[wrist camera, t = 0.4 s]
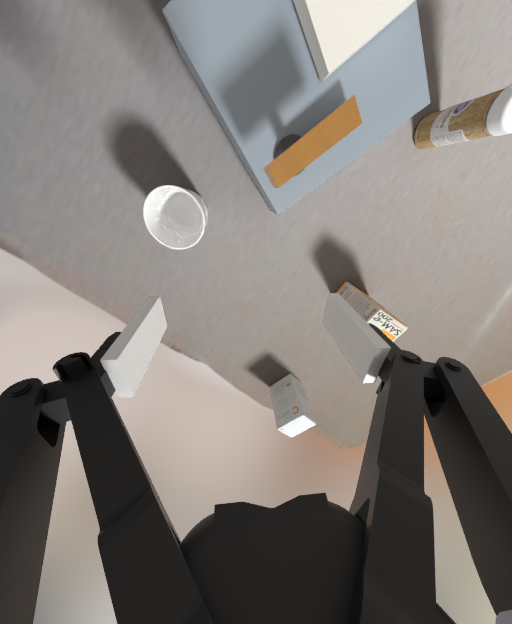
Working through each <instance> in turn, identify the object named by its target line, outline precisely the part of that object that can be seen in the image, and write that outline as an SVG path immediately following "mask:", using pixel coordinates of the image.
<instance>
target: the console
mask: <svg viewBox="0 0 512 624" xmlns="http://www.w3.org/2000/svg"><path fill="white" fill-rule="evenodd" d="M162 11H163V13H164V16H165V18H166V21H167V23H168V26H169V28H170V30H171V33H172V35H173V38H174V40H175V43H176V45H177V48H178V50H179V53H180V55H181V57H182V58H183V60H184V62H185V64H186V65H187V67H188V69H189V71H190V72H191V74H192V76H193V78H194V79H195V81H196V83H197V84H198V86H199V88H200V90H201V91H202V93H203V95H204V97H205V98H206V100H207V102H208V103H209V105H210V107H211V109H212V110H213V112H214V114H215V116H216V117H217V119H218V121H219V122H220V124H221V126H222V128H223V129H224V131H225V133H226V135H227V136H228V138H229V140H230V142H231V143H232V145H233V147H234V148H235V150H236V152H237V154H238V155H239V157H240V159H241V161H242V162H243V164H244V166H245V167H246V169H247V171H248V173H249V174H250V176H251V178H252V180H253V181H254V183H255V185H256V186H257V188H258V190H259V192H260V193H261V195H262V197H263V199H264V200H265V202H266V204H267V205H268V207H269V209H270V210H271V211H272V212H274V213H275V214H277V215H280V214H281V213H282V212H284V211H285V210H286V209H288V208H289V207H291V206H292V205H293V204H295V203H296V202H297V201H299V200H300V199H301V198H303V197H304V196H305V195H307V194H308V193H309V192H311V191H312V190H314V189H315V188H316V187H318V186H319V185H320V184H322V183H323V182H324V181H326V180H327V179H328V178H330V177H331V176H332V175H334V174H335V173H337V172H338V171H339V170H341V169H342V168H343V167H345V166H346V165H347V164H349V163H350V162H351V161H353V160H354V159H355V158H357V157H358V156H360V155H361V154H362V153H364V152H365V151H366V150H368V149H369V148H370V147H372V146H373V145H374V144H376V143H377V142H378V141H380V140H381V139H383V138H384V137H385V136H387V135H388V134H389V133H391V132H392V131H393V130H395V129H396V128H397V127H399V126H400V125H401V124H403V123H404V122H406V121H407V120H408V119H410V118H411V117H412V116H414V115H415V114H416V113H418V112H419V111H420V110H422V109H423V108H424V107H426V106H427V105H429V104H430V95H429V88H428V81H427V74H426V67H425V59H424V52H423V45H422V38H421V30H420V23H419V16H418V9H417V1H416V0H415V1H414V2H413V3H412V4H411V5H410V6H409V7H408V8H407V9H406V10H404V11H403V12H402V13H401V14H400V15H399V16H397V17H396V18H395V19H394V20H393V21H392V22H391V23H389V24H388V25H387V26H386V27H385V28H384V29H382V30H381V31H380V32H379V33H378V34H377V35H376V36H374V37H373V38H372V39H371V40H370V41H369V42H367V43H366V44H365V45H364V46H363V47H362V48H360V49H359V50H358V51H357V52H356V53H355V54H354V55H352V56H351V57H350V58H349V59H348V60H347V61H345V62H344V63H343V64H342V65H341V66H340V67H339V68H337V69H336V70H335V71H334V72H333V73H332V74H330V75H329V76H328V77H327V78H326V79H325V80H324V81H322V82H321V81H320V78H319V75H318V72H317V69H316V66H315V63H314V60H313V57H312V54H311V51H310V48H309V45H308V42H307V40H306V37H305V34H304V31H303V28H302V25H301V22H300V19H299V16H298V13H297V10H296V7H295V4H294V1H293V0H170V1H169V3H168V4H167V5H166V6H165V7H164V9H163V10H162ZM353 95H355V98H356V102H357V105H358V109H359V112H360V116H361V120H362V124H361V125H359V126H358V127H357V128H356V129H354V130H353V131H352V132H350V133H349V134H348V135H347V136H345V137H344V138H343V139H341V140H340V141H339V142H338V143H336V144H335V145H334V146H332V147H331V148H330V149H328V150H327V151H326V152H325V153H323V154H322V155H321V156H319V157H318V158H317V159H316V160H314V161H313V162H312V163H310V164H309V165H308V166H307V167H305V168H304V169H303V170H301V171H300V172H299V173H298V174H296V175H295V176H294V177H292V178H291V179H290V180H288V181H287V182H286V183H285V184H283V185H282V186H281V187H279V188H273V186H272V184H271V182H270V180H269V178H268V177H267V175H266V173H265V171H264V169H263V168H264V167H266V166H267V165H268V164H269V163H270V162H272V161H273V160H274V159H275V158H277V157H278V156H279V155H280V154H281V153H283V152H284V151H285V150H286V149H288V148H289V147H290V146H291V145H292V144H294V143H295V142H296V141H297V140H299V139H300V138H301V137H302V136H303V135H305V134H306V133H307V132H308V131H310V130H311V129H312V128H313V127H314V126H316V125H317V124H318V123H319V122H321V121H322V120H323V119H324V118H326V117H327V116H328V115H329V114H330V113H332V112H333V111H334V110H335V109H337V108H338V107H339V106H340V105H342V104H343V103H344V102H346V101H347V100H348V99H349V98H350V97H352V96H353Z"/></svg>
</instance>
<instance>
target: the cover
mask: <svg viewBox="0 0 512 624" xmlns="http://www.w3.org/2000/svg"><path fill="white" fill-rule="evenodd" d="M293 1H294V4H295V7H296V10H297V13H298V16H299V19H300V22H301V25H302V28H303V31H304V34H305V37H306V40H307V42H308V45H309V48H310V51H311V54H312V57H313V60H314V63H315V66H316V69H317V72H318V75H319V78H320V81H321V82H322V81H324V80H325V79H326V78H327V77H328V76H329V75H330V74H332V73H333V72H334V71H335V70H336V69H337V68H339V67H340V66H341V65H342V64H343V63H344V62H345V61H347V60H348V59H349V58H350V57H351V56H352V55H354V54H355V53H356V52H357V51H358V50H359V49H360V48H362V47H363V46H364V45H365V44H366V43H367V42H369V41H370V40H371V39H372V38H373V37H374V36H376V35H377V34H378V33H379V32H380V31H381V30H382V29H384V28H385V27H386V26H387V25H388V24H389V23H391V22H392V21H393V20H394V19H395V18H396V17H397V16H399V15H400V14H401V13H402V12H403V11H404V10H406V9H407V8H408V7H409V6H410V5H411V4H412V3H413V2H414V1H415V0H293Z"/></svg>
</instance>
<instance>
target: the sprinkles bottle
mask: <svg viewBox="0 0 512 624" xmlns="http://www.w3.org/2000/svg"><path fill="white" fill-rule="evenodd" d="M510 133H512V84H511V85H509V86H508V87H506V88H505V89H502V90H499V91H496V92H493V93H490V94H488V95H485V96H482V97H479V98H475V99H472V100H469V101H466V102H463V103H460V104H458V105H455V106H452V107H449V108H447V109H445V110H442V111H439V112H435V113H431V114H429V115H428V116H426V117H425V118H423V120H421V122H420V123H419V125H418V126H417V129H416V131H415V136H414V141H415V145H416V147H418V148H419V149H427V148H430V147H435V146H443V145H448V144H453V143H458V142H463V141H469V140H474V139H476V138H481V137H486V136H500V135H505V134H510Z"/></svg>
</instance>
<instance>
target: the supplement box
mask: <svg viewBox="0 0 512 624" xmlns="http://www.w3.org/2000/svg"><path fill="white" fill-rule="evenodd" d="M336 293H338V294H339V295H340V296H341V297H342V298H343V299H344V300H345V301H346V302H347V303H348V304H349V305H350V306H351V307H352V308H353V309H354V310H355V311H356V312H357V313H358V314H359V315H360V316H361V317H362V318H363V319H364V320H365V321H366V322H367V323H371V324H373V325H375V326H376V327H378V328H379V329H380V330H381V331H382V332H383V333H384V334H385V335H386V336H387V337H388V338H389V339H390V340H391V341H392V342H393V341H394V340H395V339H396V338H398V337H399V336H400V335H401V334H402V333H403V332H404V331H406V330H407V329H408V327H407V326H406V325H404V324H403V323H402V322H401V321H399V320H398V319H397V318H396V317H395V316H393V315H392V314H391V313H390V312H388V311H387V310H386V309H385V308H384V307H382V306H381V305H380V304H379V303H377V302H376V301H375V300H373V299H372V298H371V297H369V296H368V295H366V294H365V293H363V292H362V291H360V290H359V289H357V288H356V287H354V286H353V285H351V284H350V283H349V282H347V281H345V282H344V283H343V284H342V286H341V287H340V288H339V289H338V290H337V292H336Z"/></svg>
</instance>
